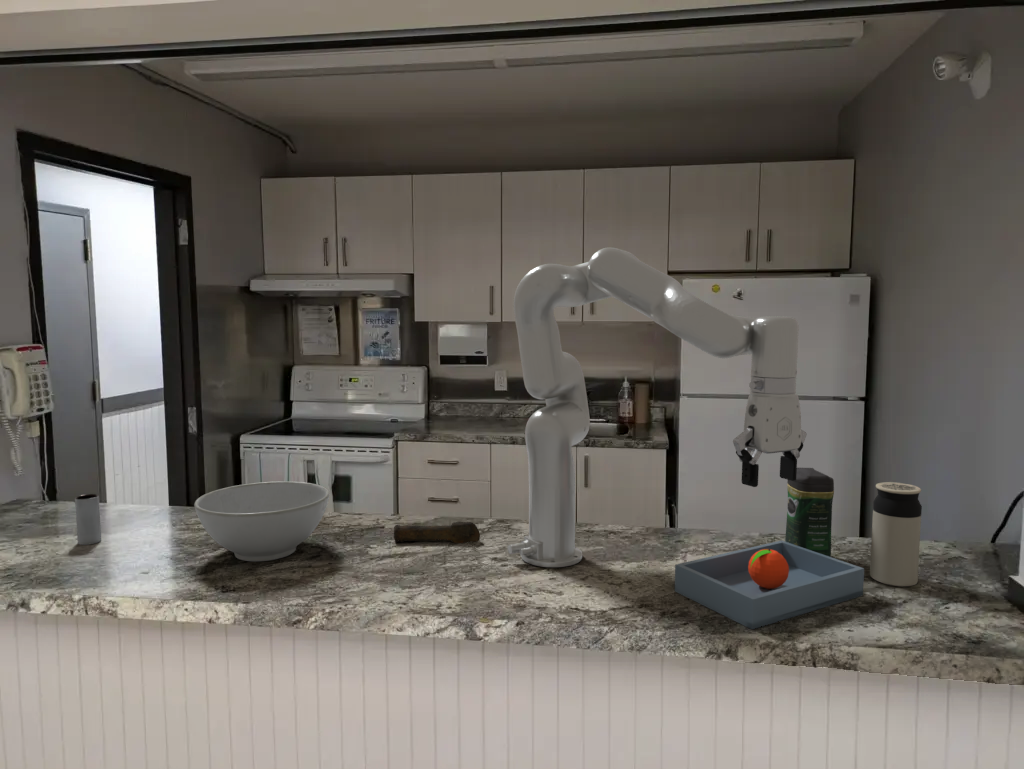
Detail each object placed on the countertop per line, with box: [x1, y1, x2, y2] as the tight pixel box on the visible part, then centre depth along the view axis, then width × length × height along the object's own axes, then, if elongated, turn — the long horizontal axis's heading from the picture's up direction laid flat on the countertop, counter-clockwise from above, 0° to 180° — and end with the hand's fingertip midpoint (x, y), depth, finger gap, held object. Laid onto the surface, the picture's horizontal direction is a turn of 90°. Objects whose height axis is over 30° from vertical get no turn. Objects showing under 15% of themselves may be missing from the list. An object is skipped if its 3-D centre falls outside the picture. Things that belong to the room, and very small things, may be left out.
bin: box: [674, 540, 865, 630], centre depth 127 cm, size 28×18×5 cm, turn 119°
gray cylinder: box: [74, 493, 102, 546], centre depth 156 cm, size 4×4×10 cm
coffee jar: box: [784, 467, 835, 557], centre depth 145 cm, size 10×8×19 cm
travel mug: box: [869, 481, 922, 588], centre depth 133 cm, size 8×8×18 cm
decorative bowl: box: [193, 480, 330, 562], centre depth 149 cm, size 27×27×12 cm
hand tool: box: [393, 521, 481, 544], centre depth 156 cm, size 19×4×5 cm, turn 87°
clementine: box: [748, 549, 789, 589], centre depth 127 cm, size 8×7×7 cm
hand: (769, 482), depth 126 cm, fingers open, 9 cm apart
